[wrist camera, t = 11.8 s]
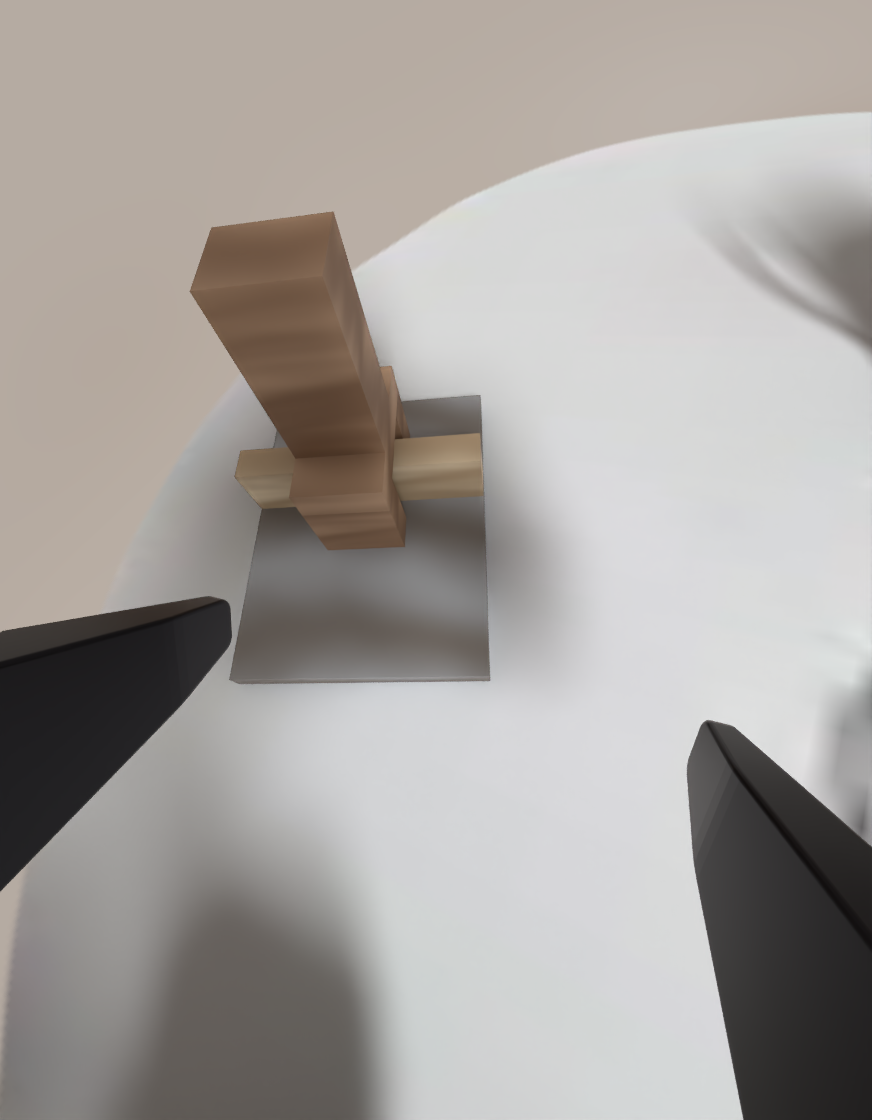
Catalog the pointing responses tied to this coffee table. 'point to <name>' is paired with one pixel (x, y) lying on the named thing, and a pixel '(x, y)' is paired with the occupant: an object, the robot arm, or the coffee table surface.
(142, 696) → the robot arm
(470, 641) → the cross plate base
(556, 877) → the coffee table surface
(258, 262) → the wooden block
